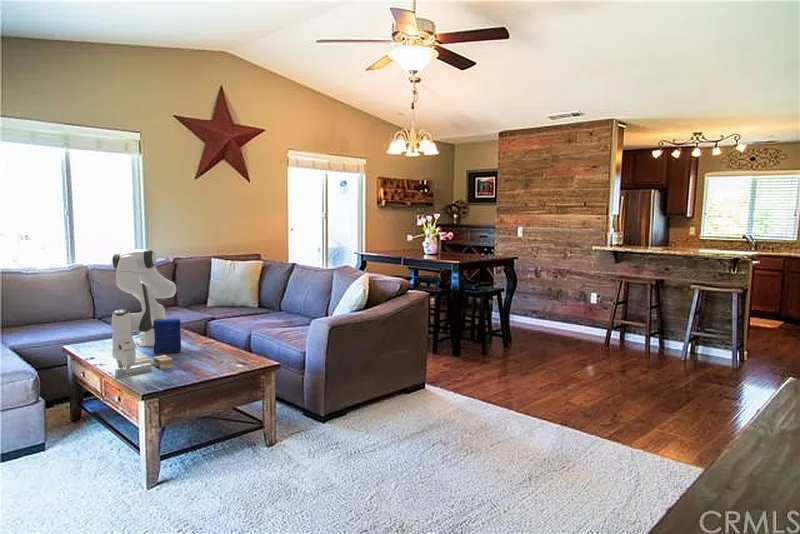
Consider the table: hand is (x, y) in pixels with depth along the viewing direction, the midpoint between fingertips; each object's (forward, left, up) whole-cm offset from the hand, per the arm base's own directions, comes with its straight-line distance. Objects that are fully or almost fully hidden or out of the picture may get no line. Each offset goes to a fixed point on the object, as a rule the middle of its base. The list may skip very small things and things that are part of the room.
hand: (124, 370), depth 260 cm
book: (-24, +32, -3) cm, 40 cm away
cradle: (-12, +11, -2) cm, 16 cm away
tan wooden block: (0, +19, -3) cm, 19 cm away
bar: (0, +4, -3) cm, 5 cm away
